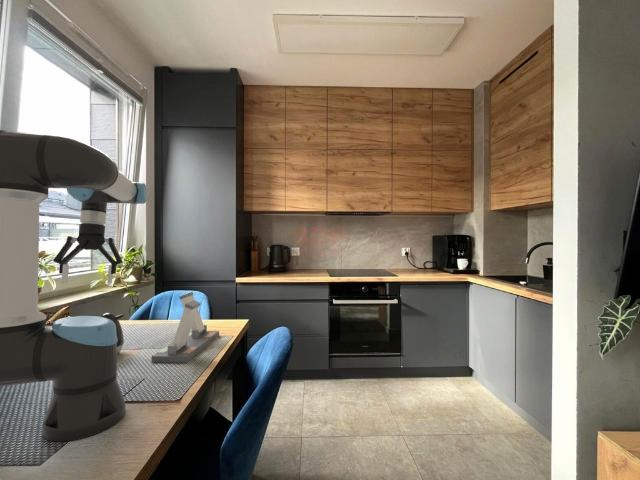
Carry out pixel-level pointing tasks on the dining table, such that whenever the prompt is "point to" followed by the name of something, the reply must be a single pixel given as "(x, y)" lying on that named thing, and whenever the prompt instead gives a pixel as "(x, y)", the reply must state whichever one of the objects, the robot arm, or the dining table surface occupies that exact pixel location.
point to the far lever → (197, 321)
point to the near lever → (185, 324)
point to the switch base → (186, 347)
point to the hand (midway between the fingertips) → (87, 283)
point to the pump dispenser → (118, 328)
